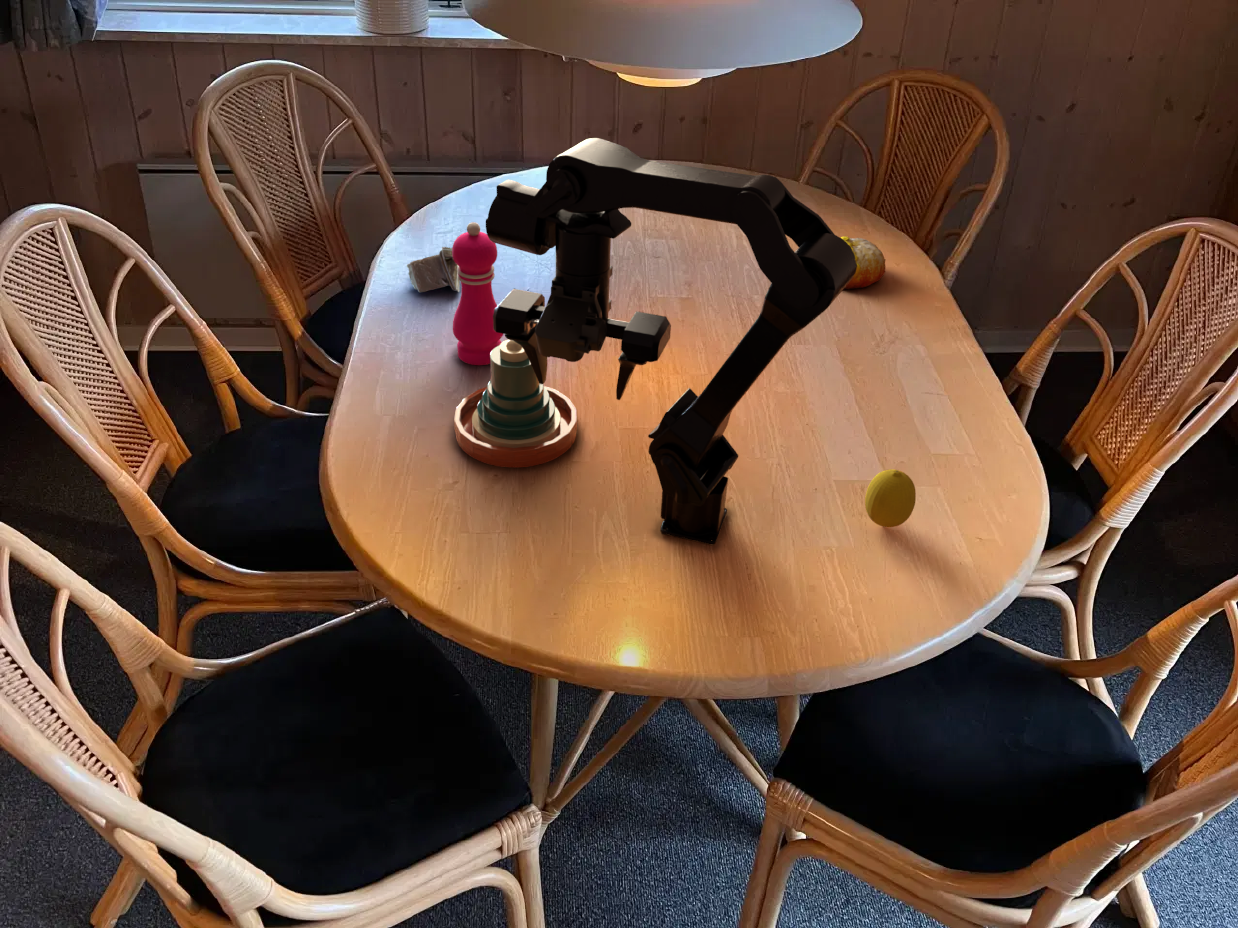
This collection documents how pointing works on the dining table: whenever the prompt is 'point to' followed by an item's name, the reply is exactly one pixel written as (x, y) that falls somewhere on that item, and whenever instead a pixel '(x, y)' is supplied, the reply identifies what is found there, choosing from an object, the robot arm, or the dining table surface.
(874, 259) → the fruit
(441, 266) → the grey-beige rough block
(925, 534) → the dining table surface
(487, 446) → the tagine base
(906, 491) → the lemon
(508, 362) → the tagine lid
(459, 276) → the pepper mill
